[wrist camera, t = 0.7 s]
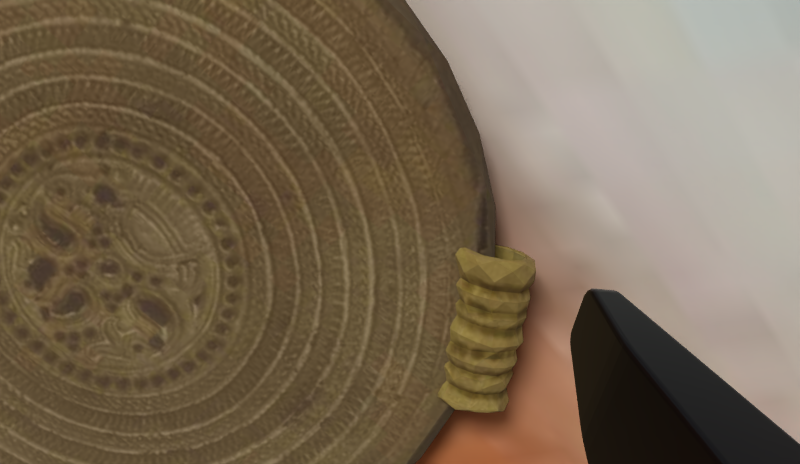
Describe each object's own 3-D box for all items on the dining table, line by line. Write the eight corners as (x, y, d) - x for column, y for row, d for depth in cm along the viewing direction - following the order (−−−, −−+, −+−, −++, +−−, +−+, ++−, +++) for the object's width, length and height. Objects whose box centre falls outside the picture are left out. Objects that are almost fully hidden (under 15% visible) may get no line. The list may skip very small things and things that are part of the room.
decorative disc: (-408, -212, 19) (600, -145, 19) (-289, -174, 22) (572, -116, 22) (-219, 576, 27) (499, 622, 27) (-151, 520, 30) (489, 561, 30)
